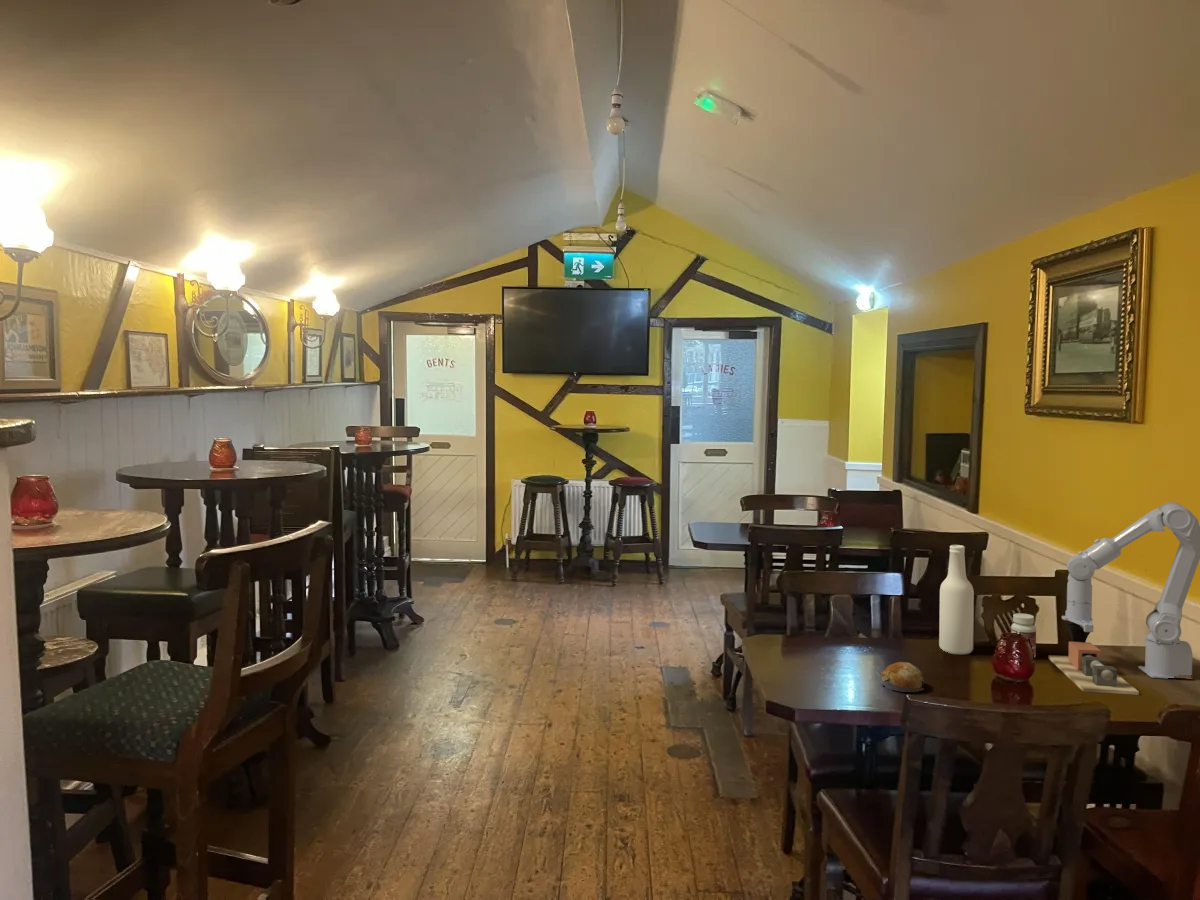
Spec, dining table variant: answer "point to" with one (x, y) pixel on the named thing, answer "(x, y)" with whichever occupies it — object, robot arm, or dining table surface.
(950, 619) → the alcohol
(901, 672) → the bread roll
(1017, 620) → the pill bottle
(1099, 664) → the shaft rig
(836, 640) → the dining table surface
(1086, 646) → the terracotta arch block
